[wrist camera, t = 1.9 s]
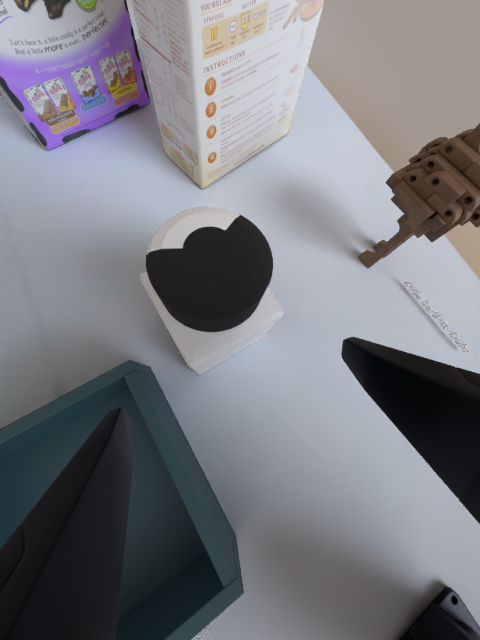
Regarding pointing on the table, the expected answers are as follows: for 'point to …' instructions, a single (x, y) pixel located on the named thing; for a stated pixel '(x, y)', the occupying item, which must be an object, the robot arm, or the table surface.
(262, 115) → the coffeecake box
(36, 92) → the candy box
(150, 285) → the medicine bottle
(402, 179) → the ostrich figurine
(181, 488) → the bin
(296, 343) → the table surface
